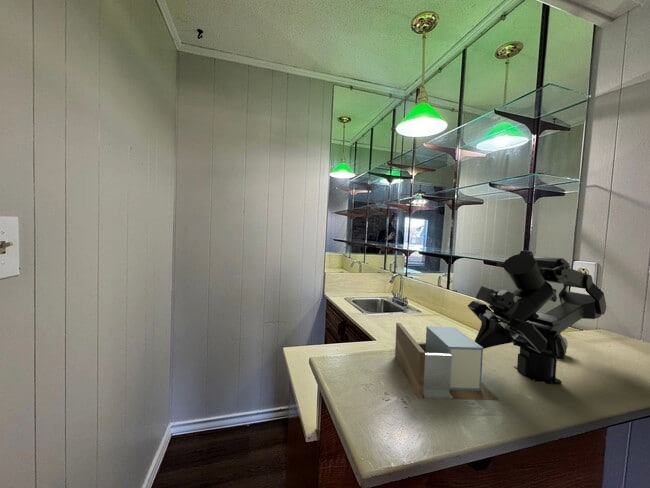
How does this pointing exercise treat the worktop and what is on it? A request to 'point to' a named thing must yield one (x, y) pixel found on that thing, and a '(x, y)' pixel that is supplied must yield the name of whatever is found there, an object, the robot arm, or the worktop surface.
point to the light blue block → (457, 356)
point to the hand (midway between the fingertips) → (474, 348)
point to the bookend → (437, 375)
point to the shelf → (414, 365)
